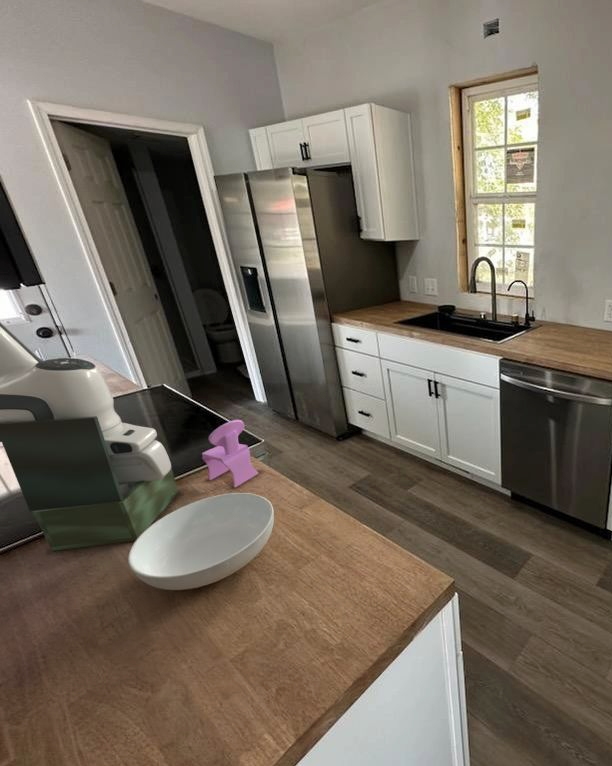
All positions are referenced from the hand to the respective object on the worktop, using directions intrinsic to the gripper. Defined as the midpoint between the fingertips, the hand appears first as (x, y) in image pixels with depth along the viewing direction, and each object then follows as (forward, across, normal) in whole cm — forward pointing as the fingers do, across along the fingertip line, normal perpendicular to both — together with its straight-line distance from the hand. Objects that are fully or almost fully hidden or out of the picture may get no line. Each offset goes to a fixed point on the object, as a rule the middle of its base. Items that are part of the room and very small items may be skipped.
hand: (118, 500), depth 84 cm
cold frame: (+4, 0, -1) cm, 4 cm away
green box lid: (-14, 0, -8) cm, 16 cm away
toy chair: (+4, +16, +11) cm, 20 cm away
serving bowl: (+4, +23, -17) cm, 29 cm away
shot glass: (+2, 0, 0) cm, 2 cm away
